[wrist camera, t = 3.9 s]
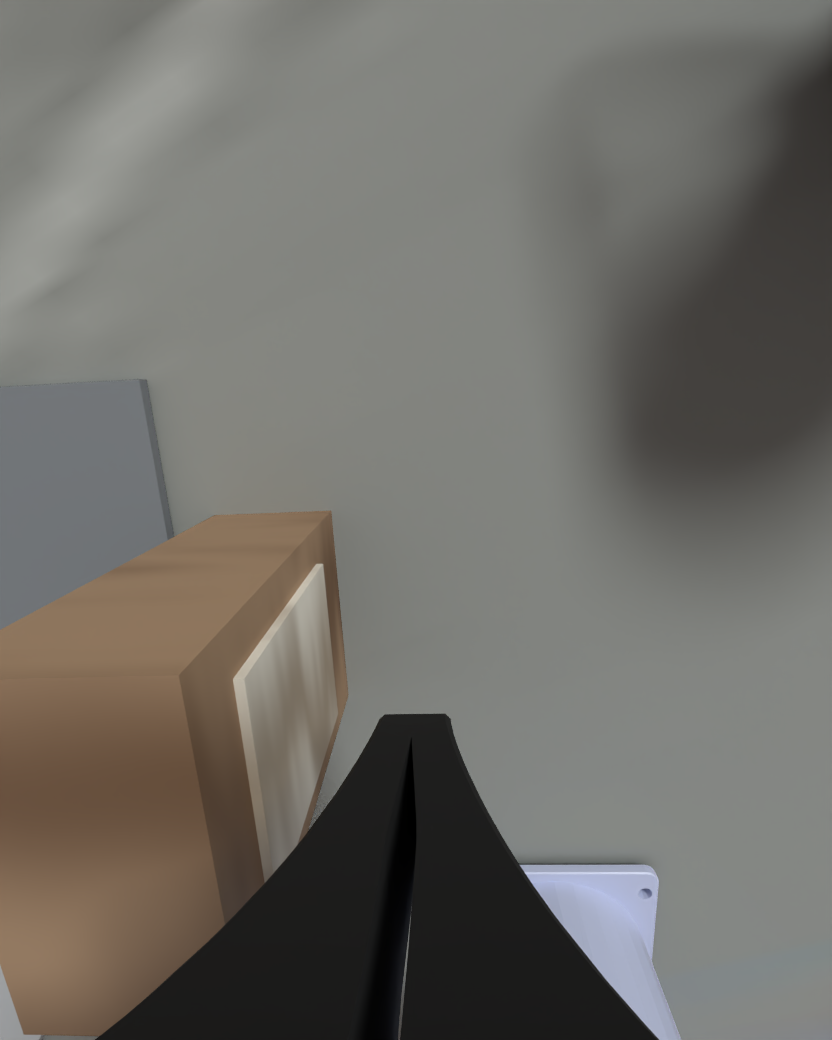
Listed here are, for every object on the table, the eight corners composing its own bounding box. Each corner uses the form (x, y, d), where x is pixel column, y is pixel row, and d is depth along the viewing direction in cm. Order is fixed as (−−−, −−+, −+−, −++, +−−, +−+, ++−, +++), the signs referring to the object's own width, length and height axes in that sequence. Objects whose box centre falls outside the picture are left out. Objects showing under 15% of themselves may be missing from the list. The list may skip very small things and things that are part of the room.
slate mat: (219, 798, 19) (215, 807, 19) (-21, 800, 20) (-30, 808, 20) (146, 379, 16) (139, 379, 15) (-150, 395, 16) (-164, 395, 16)
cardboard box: (353, 695, 18) (257, 1038, 8) (242, 697, 18) (23, 1035, 9) (337, 510, 16) (192, 675, 7) (214, 515, 17) (-97, 681, 7)
